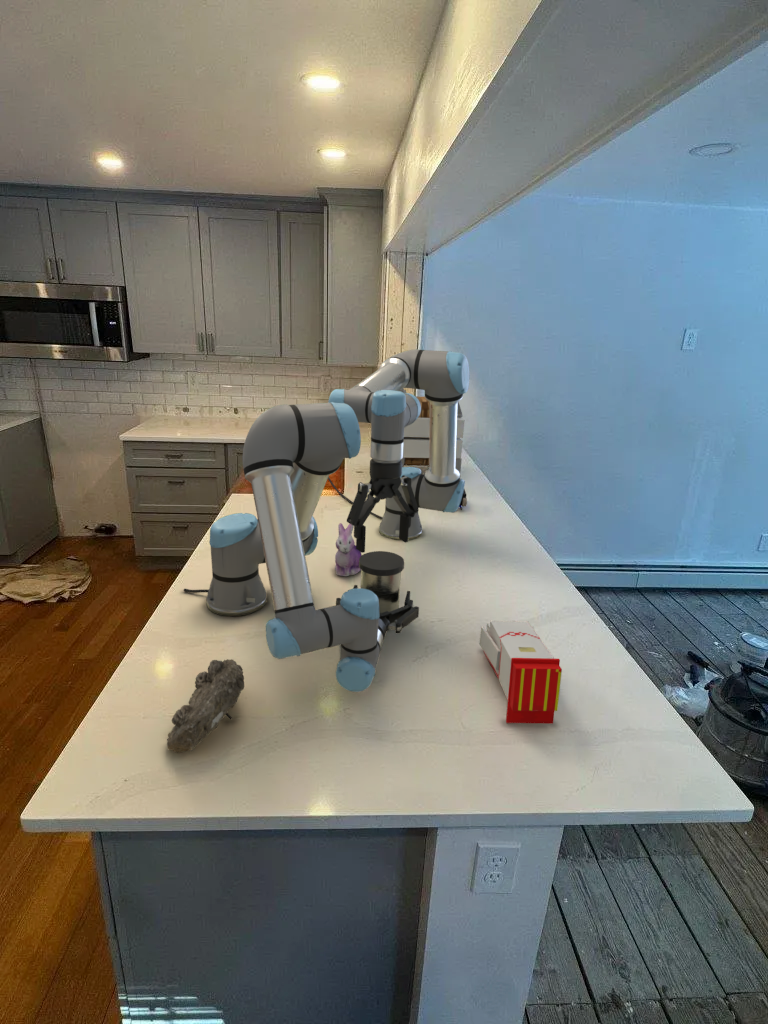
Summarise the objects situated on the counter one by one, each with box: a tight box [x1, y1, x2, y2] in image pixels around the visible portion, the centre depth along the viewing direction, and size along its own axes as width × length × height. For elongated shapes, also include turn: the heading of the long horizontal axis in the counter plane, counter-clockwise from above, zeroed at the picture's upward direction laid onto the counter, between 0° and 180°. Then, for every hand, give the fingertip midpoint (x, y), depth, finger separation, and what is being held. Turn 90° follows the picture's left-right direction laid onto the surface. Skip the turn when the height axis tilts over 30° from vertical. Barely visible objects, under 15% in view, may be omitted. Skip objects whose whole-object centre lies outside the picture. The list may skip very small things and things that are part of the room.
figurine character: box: [458, 488, 468, 511], centre depth 230 cm, size 7×8×15 cm
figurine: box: [334, 522, 363, 577], centre depth 168 cm, size 9×10×15 cm
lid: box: [359, 550, 405, 576], centre depth 140 cm, size 11×11×2 cm
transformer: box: [398, 388, 465, 475], centre depth 268 cm, size 34×33×41 cm
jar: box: [360, 570, 402, 618], centre depth 142 cm, size 10×10×16 cm
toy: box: [478, 620, 563, 725], centre depth 121 cm, size 12×13×30 cm
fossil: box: [166, 658, 245, 754], centre depth 106 cm, size 22×10×15 cm
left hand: (382, 592), depth 145 cm, fingers open, 13 cm apart
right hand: (382, 545), depth 138 cm, fingers open, 12 cm apart
